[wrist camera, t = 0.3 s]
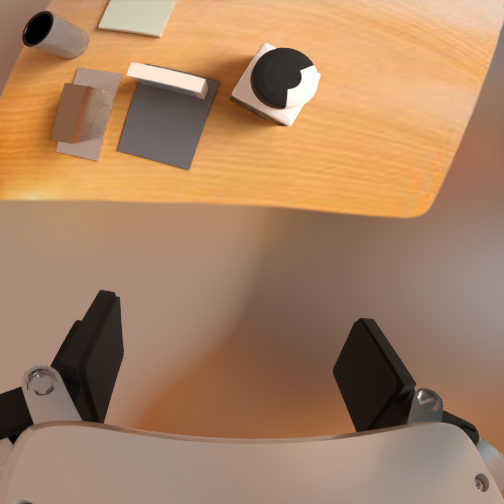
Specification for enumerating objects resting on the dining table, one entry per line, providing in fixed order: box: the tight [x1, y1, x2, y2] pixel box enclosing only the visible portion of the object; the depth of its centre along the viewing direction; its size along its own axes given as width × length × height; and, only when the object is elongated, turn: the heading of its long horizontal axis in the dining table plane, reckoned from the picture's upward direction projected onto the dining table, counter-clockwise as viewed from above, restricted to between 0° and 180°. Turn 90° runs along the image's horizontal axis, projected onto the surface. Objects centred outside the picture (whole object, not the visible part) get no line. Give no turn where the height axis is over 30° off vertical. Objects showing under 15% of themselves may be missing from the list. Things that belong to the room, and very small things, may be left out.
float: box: [51, 68, 123, 161], centre depth 30 cm, size 12×7×6 cm, turn 161°
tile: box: [127, 62, 209, 99], centre depth 29 cm, size 2×8×8 cm, turn 70°
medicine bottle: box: [230, 43, 320, 126], centre depth 28 cm, size 7×7×12 cm
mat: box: [118, 64, 220, 170], centre depth 34 cm, size 12×10×1 cm
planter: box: [22, 11, 88, 59], centre depth 23 cm, size 4×4×10 cm
